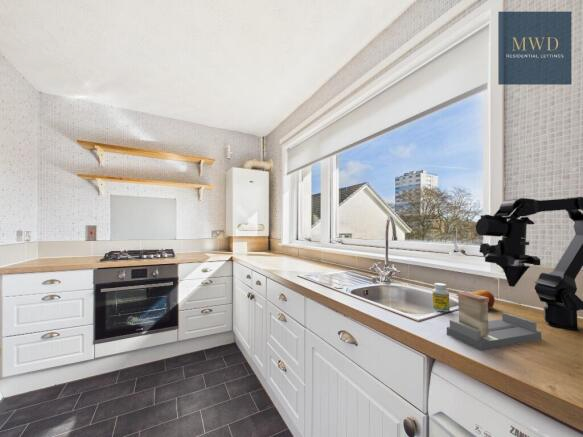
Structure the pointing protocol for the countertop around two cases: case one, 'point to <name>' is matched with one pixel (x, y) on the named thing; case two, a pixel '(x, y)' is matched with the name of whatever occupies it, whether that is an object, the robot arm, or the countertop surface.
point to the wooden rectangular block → (474, 311)
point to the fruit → (486, 294)
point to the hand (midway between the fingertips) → (511, 286)
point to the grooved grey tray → (496, 332)
